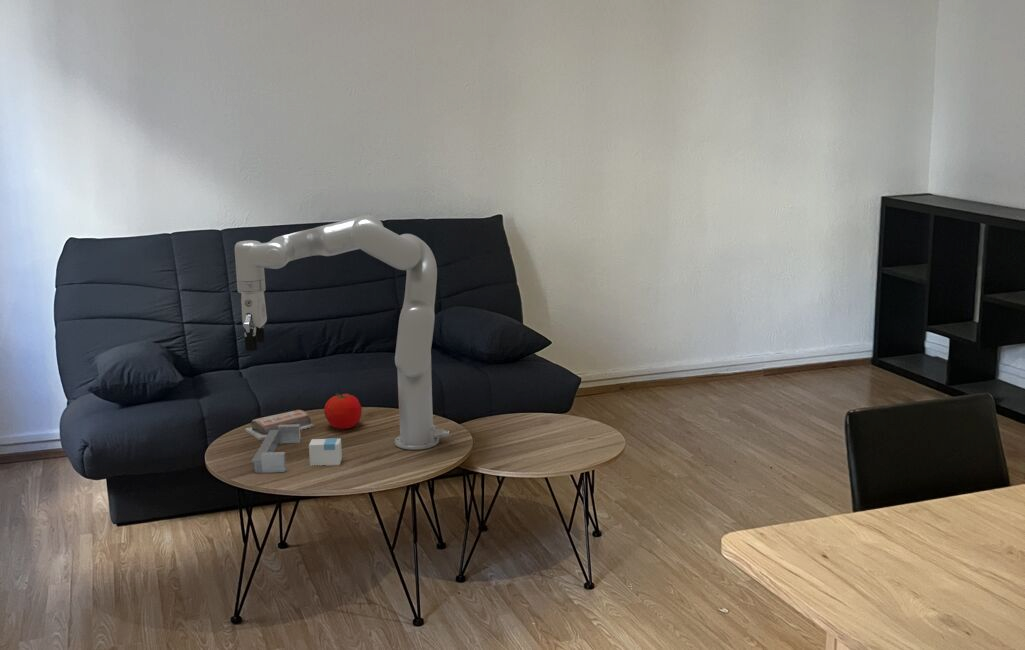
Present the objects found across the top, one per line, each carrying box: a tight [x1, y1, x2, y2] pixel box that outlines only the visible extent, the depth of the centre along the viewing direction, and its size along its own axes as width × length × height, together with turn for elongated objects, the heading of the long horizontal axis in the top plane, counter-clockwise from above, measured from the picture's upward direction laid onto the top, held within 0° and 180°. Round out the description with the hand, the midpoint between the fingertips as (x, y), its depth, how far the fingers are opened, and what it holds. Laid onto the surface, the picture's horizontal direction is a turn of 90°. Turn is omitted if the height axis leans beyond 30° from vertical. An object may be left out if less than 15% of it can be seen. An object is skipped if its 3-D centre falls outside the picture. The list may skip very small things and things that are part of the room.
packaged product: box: [244, 409, 315, 441], centre depth 325 cm, size 18×5×10 cm
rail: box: [251, 424, 302, 474], centre depth 301 cm, size 9×26×5 cm, turn 2°
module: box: [308, 437, 343, 467], centre depth 296 cm, size 8×5×6 cm, turn 92°
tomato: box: [323, 392, 363, 430], centre depth 325 cm, size 11×13×10 cm
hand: (255, 346), depth 302 cm, fingers open, 9 cm apart
